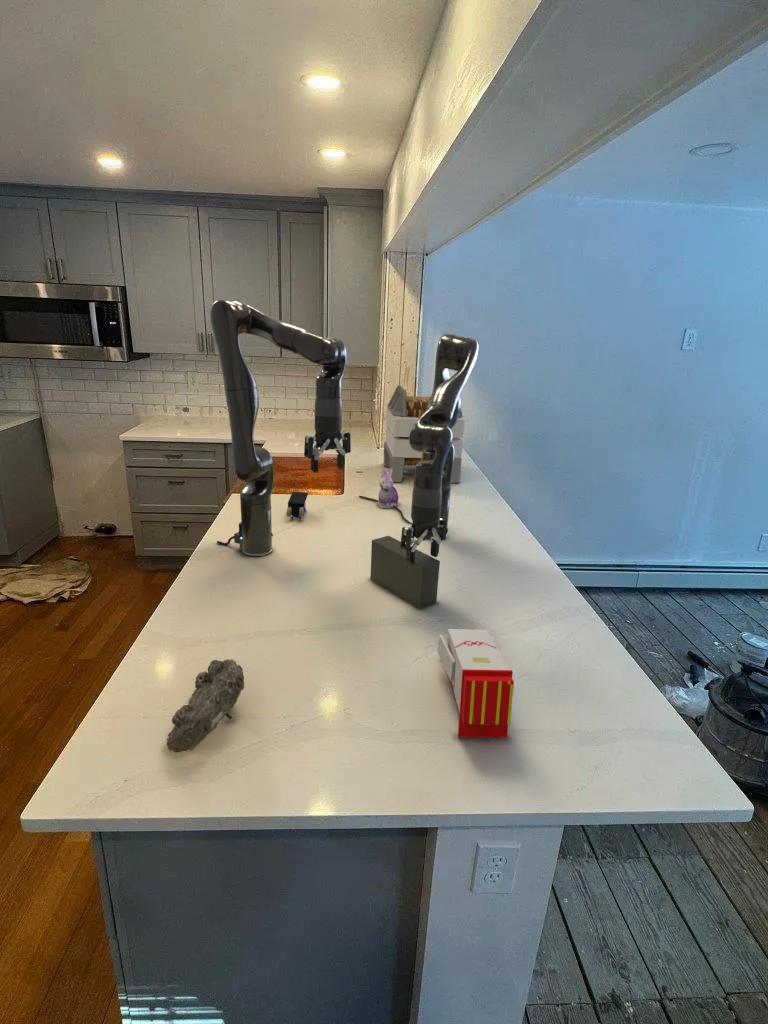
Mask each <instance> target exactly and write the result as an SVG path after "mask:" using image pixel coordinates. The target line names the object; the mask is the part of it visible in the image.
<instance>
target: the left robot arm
mask: <svg viewBox="0 0 768 1024" xmlns="http://www.w3.org/2000/svg"><path fill="white" fill-rule="evenodd" d="M209 319H210V324H211V330H212V333H213V337H214V341H215V345H216V348H217V349H216V350H217V353H218V358H219V363H220V369H221V374H222V379H223V380H222V381H223V387H224V395H225V401H226V402H225V403H226V407H227V414H228V420H229V428H230V436H231V456H232V465H233V470H234V473H235V475H236V476H237V478H238V479H239V480H240V481H241V482H244V483H245V485H244V486H243V487H242V489H241V490H240V492H239V501H240V502H239V503H240V522H239V523H238V531H237V532H235V533H234V534H233V536H231V537H229V539H228V540H227V542H222V541H220V540H216V543H217V544H219V545H222V546H229V545H230V543H231V541H232V540H234V544H237V545H239V551H240V552H242V553H243V555H246V556H249V557H263V556H266V555H269V554H271V553H272V552H273V537H274V534H273V531H272V530H273V528H272V526H273V525H272V493H273V489H274V473H275V472H274V470H275V469H274V466H275V465H274V460H273V456H272V453H270V451H269V450H268V449H267V448H265V447H262V446H256V447H255V441H254V440H255V439H254V431H255V430H254V429H255V426H256V421H257V417H258V413H259V407H260V399H259V398H260V397H259V392H258V385H257V380H256V377H255V375H254V374H253V371H252V369H251V368H250V366H249V365H248V362H246V359H245V358H244V355H243V353H242V350H241V345H240V338H239V335H242V334H243V335H251V336H256V337H260V338H263V339H265V340H267V341H268V342H270V343H271V344H273V345H274V346H276V347H277V348H280V349H282V350H284V351H287V352H290V353H293V354H295V355H298V356H301V357H302V358H303V359H306V360H307V361H309V362H311V363H313V364H316V365H319V366H322V367H321V372H320V374H318V375H317V377H316V378H315V399H314V432H315V434H314V436H309V435H305V436H304V451H303V456H304V458H308V459H310V470H311V472H313V473H314V474H318V473H319V457H320V456H321V455H322V454H323V453H324V451H329V450H335V452H336V453H337V455H336V467H337V468H338V469H340V470H341V469H344V466H345V462H346V461H345V459H346V455H347V454H350V453H351V450H352V446H351V445H352V444H351V442H352V441H351V439H352V438H351V432H348V431H345V430H343V431H342V429H343V401H342V387H343V386H342V380H343V377H344V373H345V369H346V363H347V355H348V353H347V347H346V345H345V343H344V341H343V340H342V339H341V338H339V337H321V336H319V335H316V334H313V332H311V331H310V330H308V329H306V328H303V327H301V326H298V325H295V324H292V323H289V322H287V321H283V320H280V319H277V318H275V317H272V316H269V315H268V314H265V313H263V312H262V311H260V310H258V309H257V308H254V307H252V306H250V305H249V304H248V303H245V302H244V301H241V300H239V299H218V300H216V301H214V303H212V306H211V308H210V313H209ZM341 431H342V432H341ZM340 441H341V442H340Z"/></svg>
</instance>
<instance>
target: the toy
mask: <svg viewBox="0 0 768 1024" xmlns="http://www.w3.org/2000/svg"><path fill="white" fill-rule="evenodd" d="M446 640H447V643H446V641H445V639H444V636H443V635H442V634H439V637H438V646H437V656H438V657H439V659H440V661H441V663H442V666H443V668H444V670H445V672H446V674H447V677H448V679H449V681H450V684H451V687H452V690H453V693H454V697H455V701H456V705H457V708H458V711H459V714H458V715H459V716H458V730H457V731H458V732H457V737H458V738H508V731H509V726H510V725H511V717H512V707H513V697H514V696H513V695H514V684H515V680H514V679H513V673H514V671H513V670H512V669H508V667H507V665H506V662H505V661H504V659H503V658H502V655H501V653H500V651H499V649H498V647H497V643H496V639H495V637H494V635H493V634H491V632H490V631H489V629H467V628H466V629H465V628H463V629H461V628H460V629H459V628H448V630H447V639H446Z"/></svg>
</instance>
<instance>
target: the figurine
mask: <svg viewBox="0 0 768 1024" xmlns="http://www.w3.org/2000/svg"><path fill="white" fill-rule="evenodd" d="M380 474H381V475H380V476H381V478H380V480H379V487H380V490H379V491H378V500H379V501H378V502H377V505H378V507H379V508H381V509H390V508H391V509H392V508H394V507H393V505H394V506H396V507H397V506H398V503H399V494H398V490H397V489H396V488H395V487H394V482H393V481H392V478H391V475H392V468H390V467H389V469H388V471H385V469H384V468H381V470H380Z"/></svg>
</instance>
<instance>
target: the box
mask: <svg viewBox="0 0 768 1024" xmlns="http://www.w3.org/2000/svg"><path fill="white" fill-rule="evenodd" d="M400 545H401V540H398V539H396V538H394V537H392V536H391V535H386V536H381V537H379V538H375V539H371V550H370V551H371V553H370V579H369V580H371V581H373V582H374V583H376V584H378V585H379V586H381V587H383V588H384V589H386V590H387V591H389V592H391V593H392V594H394V595H396V596H397V597H399V598H400V599H402V600H404V601H405V602H407V603H409V604H411V605H412V606H414V607H415V608H418V609H419V610H421V609H424V608H426V607H428V606H429V607H430V606H431V605H434V604H436V603H437V601H438V589H439V587H438V586H439V578H440V577H439V576H440V564H441V560H440V559H437V558H436V557H433V556H431V555H429V554H427V553H425V552H422V551H421V550H419V549H417V548H416V549H415V563H414V564H413V565H411V564H409V563H407V561H406V553H407V551H406V550H403V549H401V548H400ZM405 545H406V543H405Z"/></svg>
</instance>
